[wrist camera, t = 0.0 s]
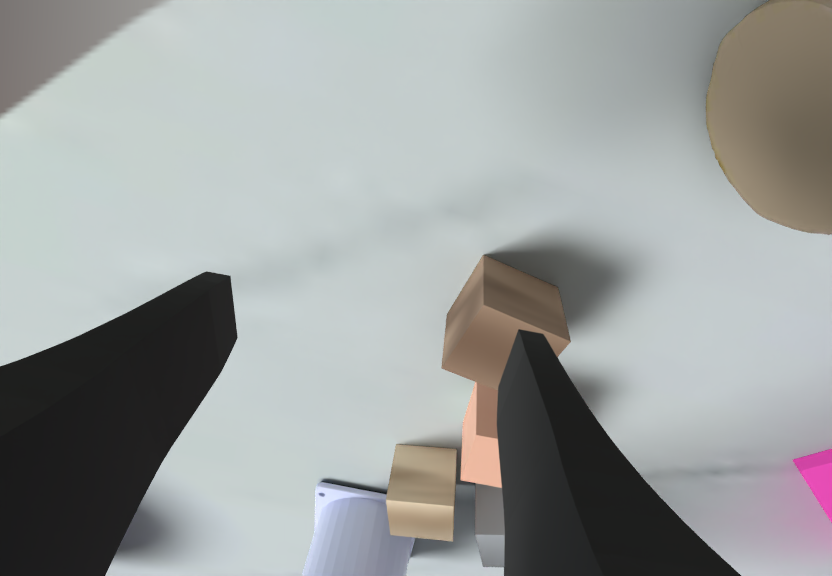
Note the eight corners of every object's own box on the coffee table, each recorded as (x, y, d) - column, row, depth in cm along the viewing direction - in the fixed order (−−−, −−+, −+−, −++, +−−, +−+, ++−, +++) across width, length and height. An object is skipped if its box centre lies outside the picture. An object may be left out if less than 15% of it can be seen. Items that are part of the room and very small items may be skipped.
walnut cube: (515, 341, 24) (520, 399, 21) (447, 313, 24) (441, 368, 21) (557, 286, 22) (570, 341, 19) (483, 253, 22) (483, 304, 18)
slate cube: (539, 508, 33) (545, 568, 30) (483, 508, 34) (483, 566, 30) (535, 474, 31) (542, 534, 27) (475, 476, 32) (475, 534, 28)
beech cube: (455, 483, 32) (452, 541, 29) (399, 478, 33) (390, 535, 29) (456, 447, 30) (453, 506, 27) (396, 443, 30) (385, 500, 27)
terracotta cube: (526, 433, 28) (532, 493, 25) (462, 421, 28) (460, 480, 25) (546, 389, 26) (555, 449, 23) (476, 376, 26) (476, 434, 23)
